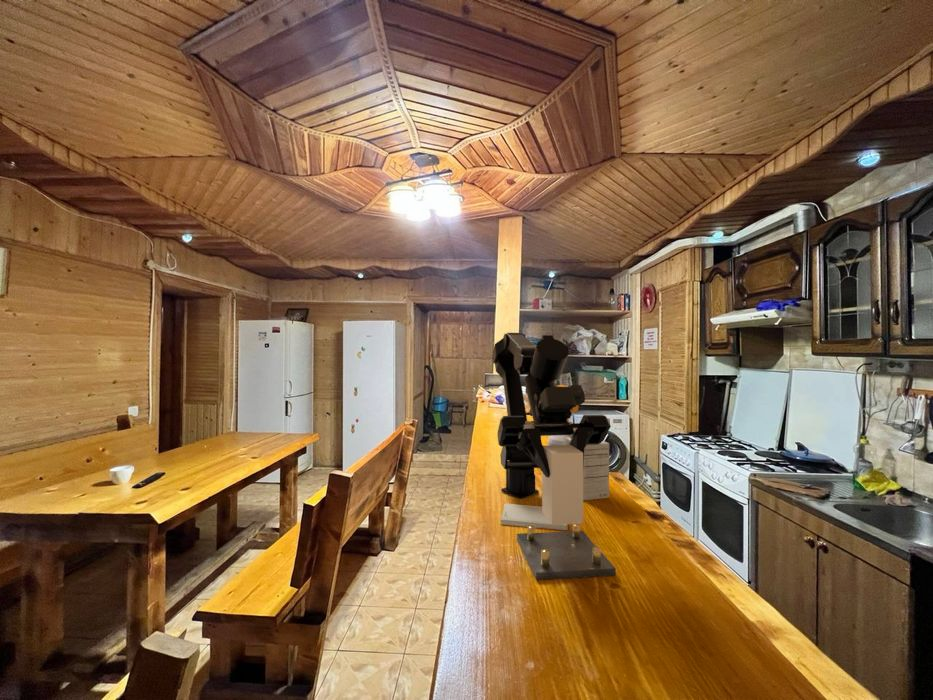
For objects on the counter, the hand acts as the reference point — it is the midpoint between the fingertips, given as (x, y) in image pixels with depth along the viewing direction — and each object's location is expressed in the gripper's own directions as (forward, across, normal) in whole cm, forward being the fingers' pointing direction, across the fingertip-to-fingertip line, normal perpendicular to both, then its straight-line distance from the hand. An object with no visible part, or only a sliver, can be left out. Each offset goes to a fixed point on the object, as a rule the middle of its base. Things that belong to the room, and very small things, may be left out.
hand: (564, 475), depth 60 cm
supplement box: (-10, +16, +29) cm, 34 cm away
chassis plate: (+8, 0, +10) cm, 13 cm away
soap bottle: (-18, +14, +37) cm, 43 cm away
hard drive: (-1, -1, +21) cm, 21 cm away
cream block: (+4, 0, +6) cm, 7 cm away
